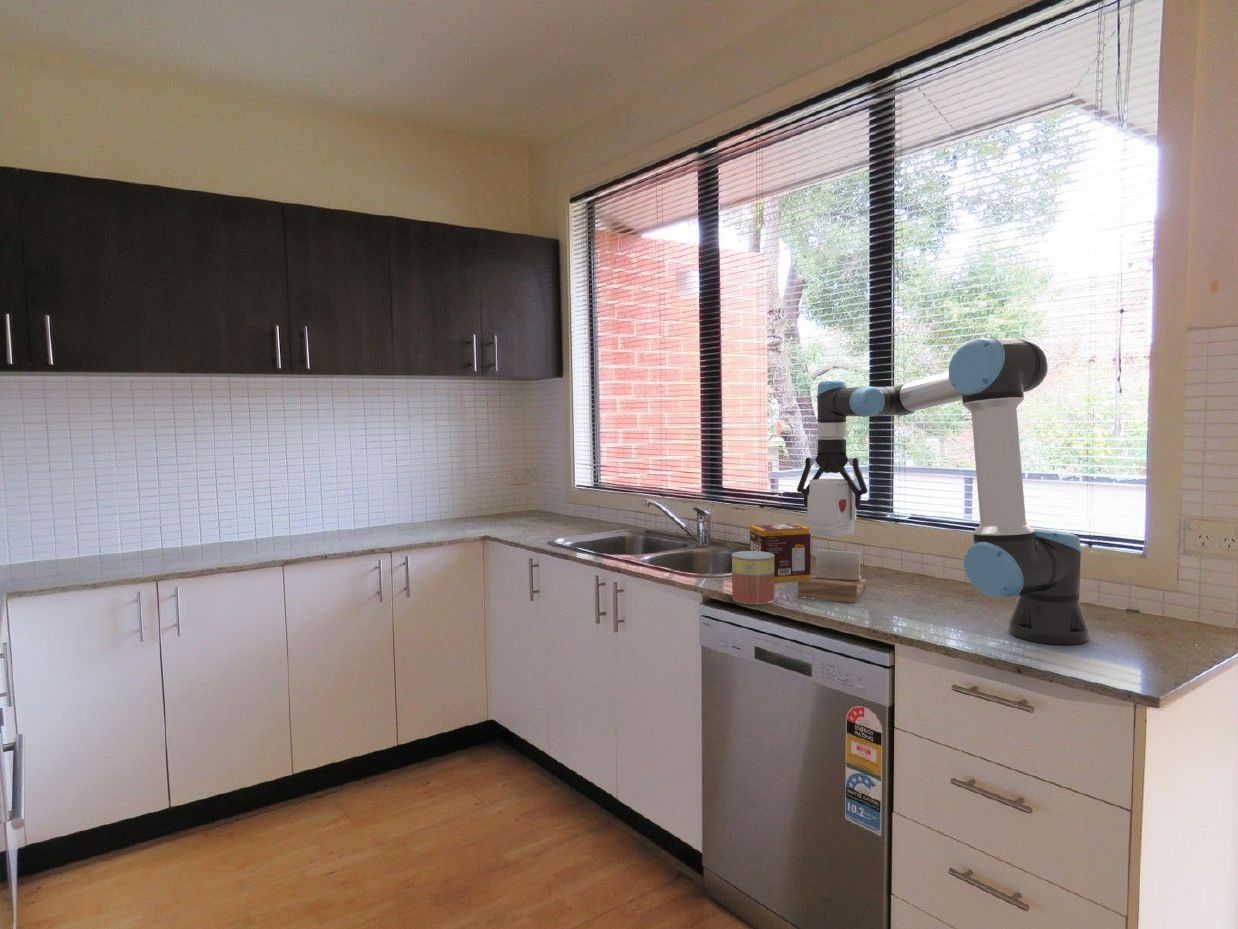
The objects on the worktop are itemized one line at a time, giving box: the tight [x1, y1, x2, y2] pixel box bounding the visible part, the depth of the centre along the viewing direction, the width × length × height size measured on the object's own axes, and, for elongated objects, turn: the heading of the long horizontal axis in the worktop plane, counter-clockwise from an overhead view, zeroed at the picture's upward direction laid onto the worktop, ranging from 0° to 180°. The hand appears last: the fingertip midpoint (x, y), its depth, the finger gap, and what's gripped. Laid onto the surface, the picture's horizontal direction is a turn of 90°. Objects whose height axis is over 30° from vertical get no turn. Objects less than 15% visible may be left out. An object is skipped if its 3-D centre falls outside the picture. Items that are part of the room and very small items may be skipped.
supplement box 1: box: [749, 522, 812, 583], centre depth 228 cm, size 10×15×16 cm
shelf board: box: [797, 575, 867, 603], centre depth 210 cm, size 22×15×4 cm
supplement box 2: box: [808, 477, 856, 538], centre depth 206 cm, size 9×9×15 cm
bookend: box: [815, 549, 862, 581], centre depth 218 cm, size 4×12×8 cm, turn 66°
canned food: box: [731, 550, 775, 605], centre depth 203 cm, size 11×11×12 cm
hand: (831, 519), depth 206 cm, fingers closed on supplement box 2, 11 cm apart
